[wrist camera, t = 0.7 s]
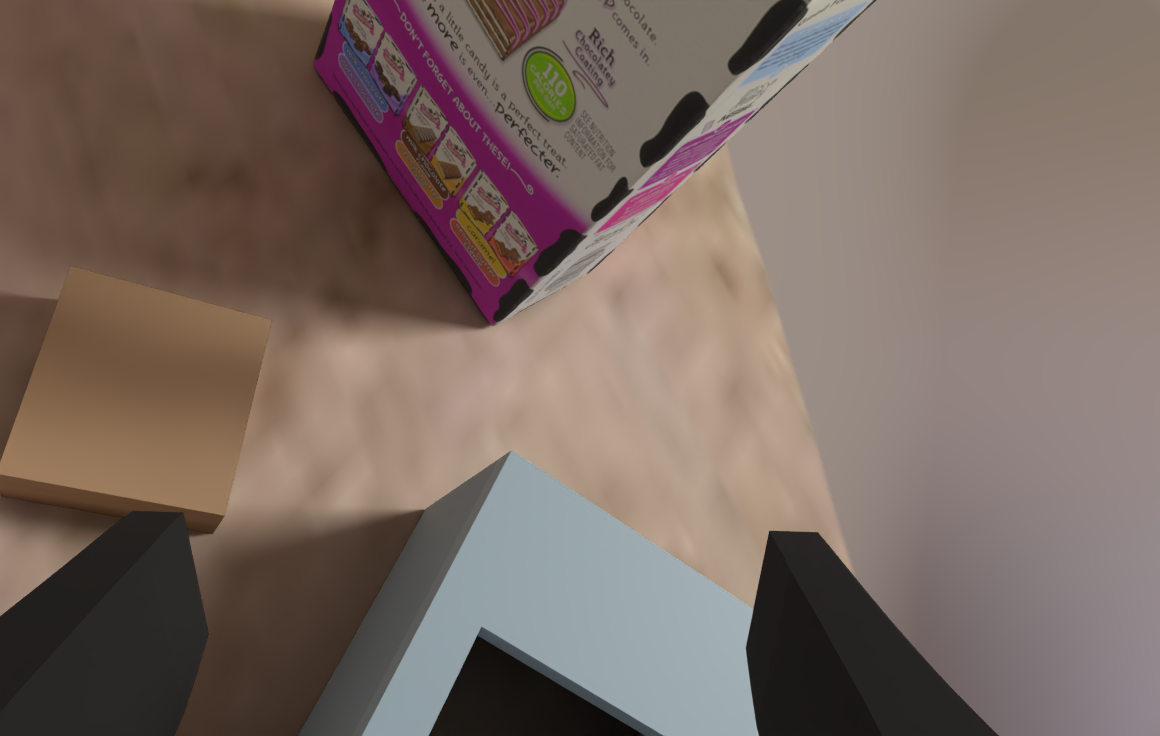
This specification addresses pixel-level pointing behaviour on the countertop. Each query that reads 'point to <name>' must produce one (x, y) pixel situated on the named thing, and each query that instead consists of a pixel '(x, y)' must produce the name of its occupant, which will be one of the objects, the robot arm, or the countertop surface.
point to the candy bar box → (556, 115)
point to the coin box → (542, 617)
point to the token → (135, 403)
